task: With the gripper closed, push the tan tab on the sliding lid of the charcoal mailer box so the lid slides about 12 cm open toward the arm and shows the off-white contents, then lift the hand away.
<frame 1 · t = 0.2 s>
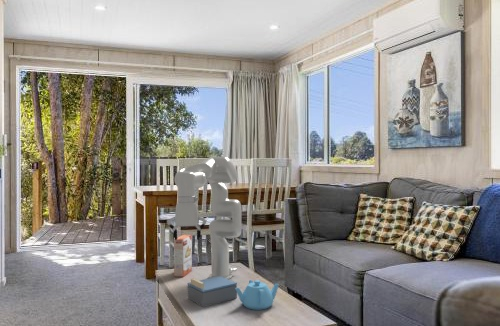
hand: (187, 239, 182), 30 cm above the table, tool pointing down, fingers open, 9 cm apart
cracker box: (183, 274, 235), on the table
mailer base: (212, 298, 193), on the table
teapot: (257, 305, 183), on the table
lid: (212, 281, 193), point 8 cm above the table, slide at 0.0 cm
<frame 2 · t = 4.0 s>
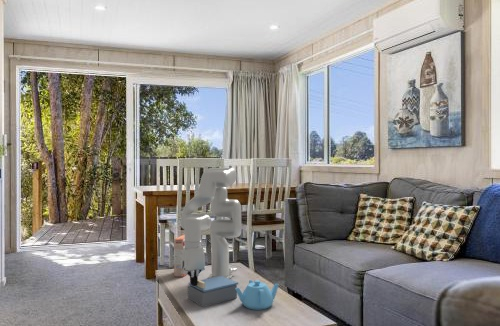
hand: (193, 285, 187), 8 cm above the table, tool pointing down, fingers closed
lid: (213, 280, 193), point 8 cm above the table, slide at 0.7 cm, touching gripper
everything else where it was.
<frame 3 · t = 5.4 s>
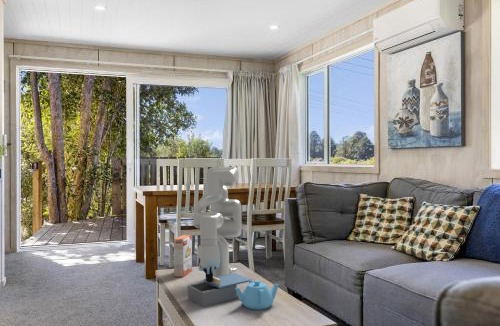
hand: (209, 281, 192), 8 cm above the table, tool pointing down, fingers closed
lid: (227, 277, 198), point 8 cm above the table, slide at 8.8 cm, touching gripper
everything else where it was.
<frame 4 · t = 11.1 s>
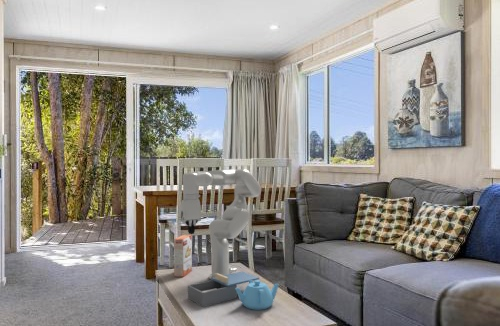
hand: (191, 233, 210), 27 cm above the table, tool pointing down, fingers closed
lid: (235, 276, 200), point 8 cm above the table, slide at 13.1 cm
everything else where it was.
at the end: lid slide at 13.1 cm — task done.
